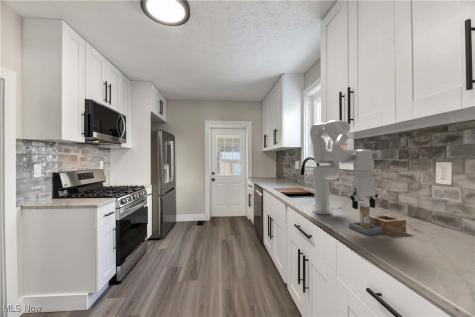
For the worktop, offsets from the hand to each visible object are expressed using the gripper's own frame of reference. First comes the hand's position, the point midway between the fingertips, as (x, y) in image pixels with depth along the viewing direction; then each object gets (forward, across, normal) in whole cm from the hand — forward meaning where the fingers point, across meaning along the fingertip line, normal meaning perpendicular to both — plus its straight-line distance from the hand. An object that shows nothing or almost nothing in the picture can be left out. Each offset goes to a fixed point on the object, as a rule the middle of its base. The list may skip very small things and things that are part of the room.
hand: (363, 208), depth 111 cm
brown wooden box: (+11, -10, +3) cm, 15 cm away
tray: (+11, 0, +1) cm, 11 cm away
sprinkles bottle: (+10, 0, +1) cm, 11 cm away
